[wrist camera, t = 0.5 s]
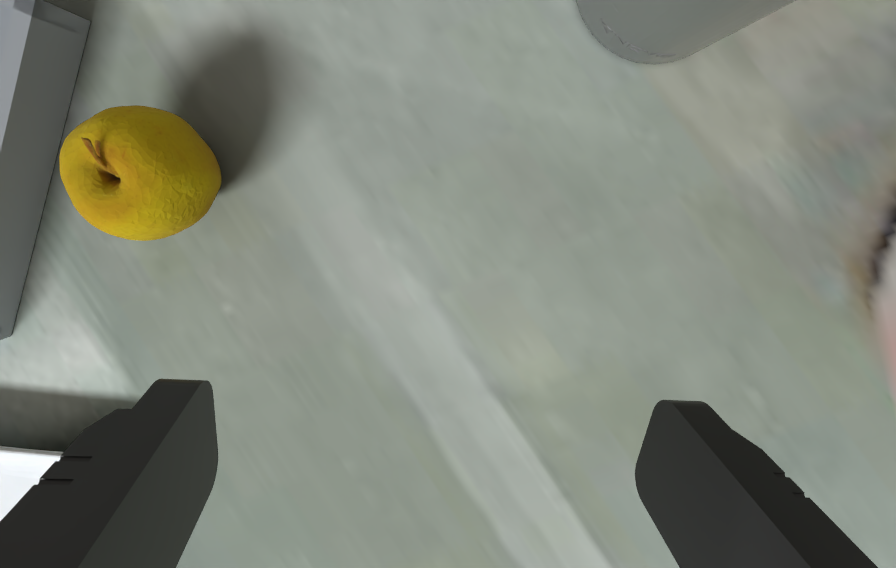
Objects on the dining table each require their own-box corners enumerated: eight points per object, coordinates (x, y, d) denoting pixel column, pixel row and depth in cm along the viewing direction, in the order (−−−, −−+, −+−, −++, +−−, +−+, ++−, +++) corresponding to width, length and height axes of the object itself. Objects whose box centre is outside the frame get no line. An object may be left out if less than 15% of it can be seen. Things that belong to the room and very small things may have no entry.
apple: (187, 92, 27) (82, 57, 20) (266, 182, 28) (196, 183, 21) (109, 166, 28) (-21, 161, 20) (189, 251, 29) (93, 277, 21)
